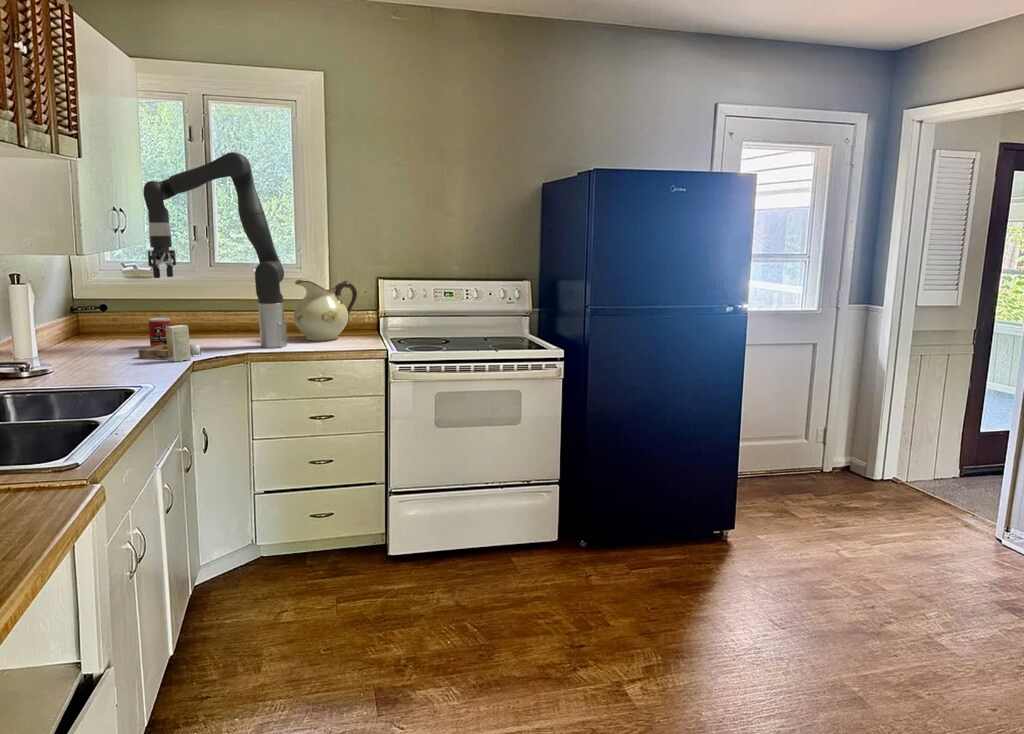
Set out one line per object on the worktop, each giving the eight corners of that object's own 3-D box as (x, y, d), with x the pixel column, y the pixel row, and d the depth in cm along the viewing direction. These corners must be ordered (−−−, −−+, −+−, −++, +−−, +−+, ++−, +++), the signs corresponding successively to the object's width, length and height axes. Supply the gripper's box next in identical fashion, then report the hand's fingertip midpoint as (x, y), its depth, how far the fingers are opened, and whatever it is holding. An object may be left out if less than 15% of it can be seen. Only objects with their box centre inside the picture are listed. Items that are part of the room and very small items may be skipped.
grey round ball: (202, 354, 274) (201, 344, 274) (197, 356, 271) (196, 345, 270) (192, 354, 275) (192, 343, 274) (187, 356, 271) (186, 345, 270)
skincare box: (185, 359, 265) (182, 324, 263) (191, 360, 262) (189, 325, 260) (167, 361, 260) (164, 326, 258) (173, 362, 257) (170, 327, 255)
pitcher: (283, 340, 312) (281, 280, 307) (315, 334, 334) (313, 277, 330) (330, 344, 305) (329, 282, 301) (359, 337, 327) (359, 279, 323)
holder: (195, 353, 277) (194, 345, 277) (174, 359, 264) (173, 350, 263) (161, 352, 279) (161, 344, 278) (139, 358, 265) (138, 350, 265)
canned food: (148, 348, 288) (146, 320, 286) (152, 345, 296) (150, 317, 294) (170, 347, 290) (168, 319, 288) (173, 345, 298) (171, 317, 296)
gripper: (158, 234, 280) (161, 278, 283) (179, 234, 294) (183, 276, 296) (139, 234, 281) (143, 278, 284) (162, 235, 295) (165, 276, 297)
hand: (163, 277), depth 290 cm, fingers open, 8 cm apart
